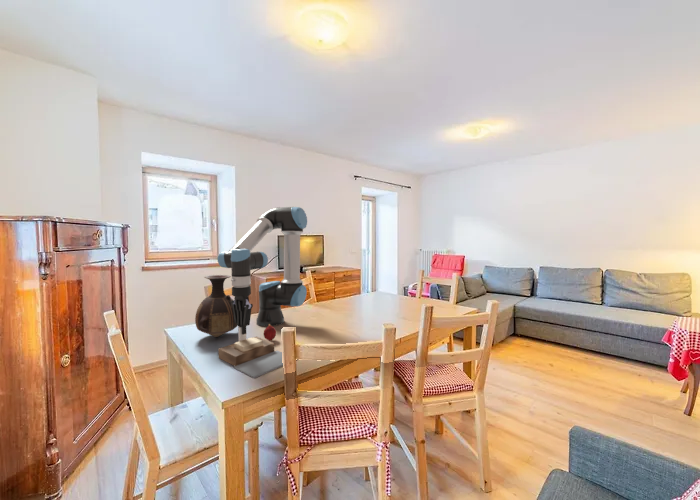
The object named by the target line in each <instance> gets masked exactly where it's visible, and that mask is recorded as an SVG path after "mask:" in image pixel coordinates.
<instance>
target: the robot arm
mask: <svg viewBox="0 0 700 500" xmlns="http://www.w3.org/2000/svg"><path fill="white" fill-rule="evenodd" d="M307 225H308V217H307V214H306V211H305V210H304V209H303V208H302V207H300V206H286V207H274V208H271V209H268V211H266V212H264V213H263V214H262V215H261V216H260V217H259V218H257V219H256V223H255V224H254V225H253V226H252V227H251V228H250V229H249V230H248V231H247V232H246V233H245V234H244V235H242V237H241V238H240V239H239V240H238V241H237V242H236V243H235V244H234V245H233V246H232V247H231V248H230V249H229V250H226V251H221V252H220V253H218V255H217V263H218V265H219V267H221V268H226V269H231V275H230V276H231V280H230V281H231V286H232V287H231V296H232V297H234V299H233V301H231V303H232V306H233V313H234V320H235V324H236V323H237V327H238V342H239V341H242V340H245V339H247V326H250V325H251V315H252V309H253V306H254V304H253V303H250V299H249V296H250V295H251V294H252V286H251V284H252V282H251V281H252V280H251V279H252V278H251V270H258V269H259V270H260V269H263V268H265V267H266V266H267V265H268V263H269V257H268V255H267V254H266V253H265V252H263V251H252V250H253V249H255V248H256V246H257V245H258V244H259V243H260V242H261V241H262V239H264V237H265V236H266V235H267V234H269V233H271V232H272V231H273V230H277V229H281V231H280V232H281V233H282V234H283V279H282V280H281V281H280V280H273V281H267V282H266V281H265V282H261V283H260V284H259V286H258V302H259V303H258V304H259V307H258V308H259V310H258V312H257V313H258V314H257V317H256V325H258V326H260V327H268V326H269V324H270V325H271V326H272V327H274V326H279V325H282V324H284V322H285V317H284V314H283V311H282V308H281V307H282V306H286V307H293V308H294V307H298V308H299V307H300V306H302V305H303V304H304V302H305V300H306V298H307V287H306V286H305V285H303V280H302V279H301V278H300V277H301V273H300V271H301V235H302V234H303V232H304V229H306V228H307Z"/></svg>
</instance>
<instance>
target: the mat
mask: <svg viewBox="0 0 700 500" xmlns="http://www.w3.org/2000/svg"><path fill="white" fill-rule="evenodd" d="M281 367H284V366H283V363H282V351H280V350H274V352H272V353H269V354H266V355H264V356H261V357H258V358H256V359H253V360H250V361H248V362H245V363H242V364H240V365H237V366H233V368H234V369H235V370H237V371H239V372H241V373H242V374H245V375H246V376H249V377H251V378H252V379H256V378H258V377H261V376H264V375H265V374H267V373H270V372H272V371H274V370H277V369H279V368H281Z"/></svg>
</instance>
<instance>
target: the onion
mask: <svg viewBox="0 0 700 500" xmlns="http://www.w3.org/2000/svg"><path fill="white" fill-rule="evenodd" d="M276 336H277V330H276V328H275V327H274V326H271V325H270V324H269V326H266V327H265V329H264V330H263V337H264V339H265V340H267V341H270V342H272V341H273V340H274V339H275V338H276Z"/></svg>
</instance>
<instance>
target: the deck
mask: <svg viewBox="0 0 700 500" xmlns="http://www.w3.org/2000/svg"><path fill="white" fill-rule="evenodd" d="M253 337H254V338H257V339H260V340H262V341H263V346H260V347H257V348H254V349H251V350H248V351H245V352H242V351H240V350H238V349H236V348H234V343H231V344H229V345H226V346H221V347H219V348H218V350H217V351H218V359H219V360H221V361H223V362H225V363H228V364H230V365H232V366H233V367H234V366H237V365H240V364H242V363H245V362H248V361H250V360H253V359H256V358H258V357H261V356H264V355H266V354H269V353H272V352H274V351H275V342H273V341H268V340H267V339H265V338H261V337H259V336H253Z"/></svg>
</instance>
